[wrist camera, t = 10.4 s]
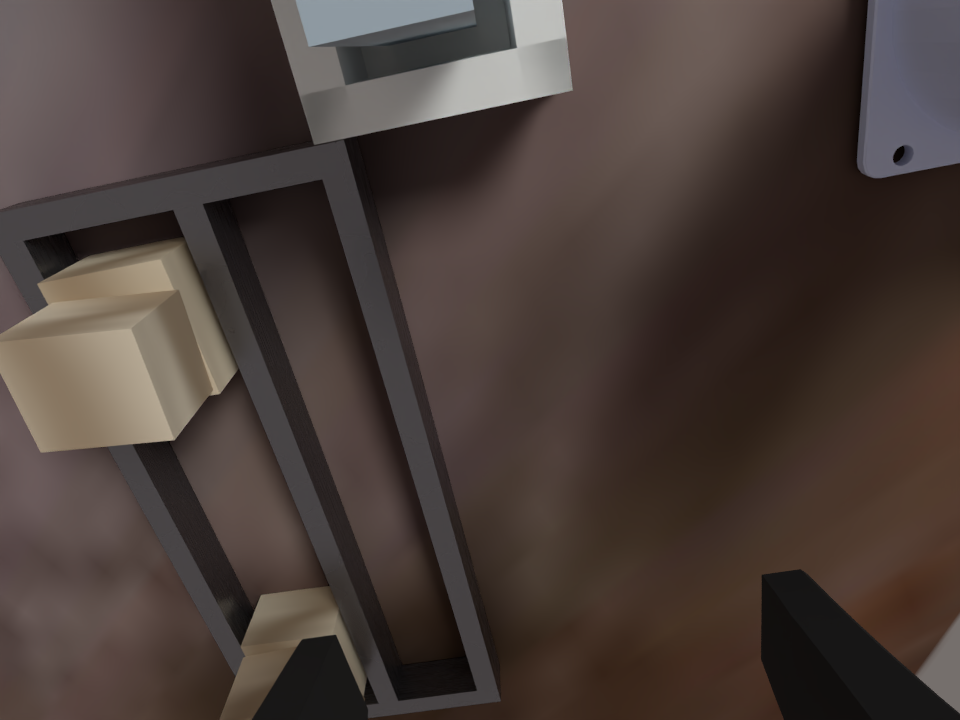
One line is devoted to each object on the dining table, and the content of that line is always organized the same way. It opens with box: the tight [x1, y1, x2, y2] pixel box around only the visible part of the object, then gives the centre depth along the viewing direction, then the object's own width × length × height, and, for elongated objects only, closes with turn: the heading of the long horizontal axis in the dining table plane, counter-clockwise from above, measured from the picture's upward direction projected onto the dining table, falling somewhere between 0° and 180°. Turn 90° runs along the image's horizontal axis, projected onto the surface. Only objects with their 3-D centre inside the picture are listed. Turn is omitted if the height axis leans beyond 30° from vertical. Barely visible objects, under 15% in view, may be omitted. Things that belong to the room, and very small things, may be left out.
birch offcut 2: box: [219, 647, 365, 720], centre depth 22 cm, size 3×3×2 cm
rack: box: [0, 136, 501, 718], centre depth 21 cm, size 10×22×2 cm, turn 11°
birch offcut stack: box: [0, 236, 239, 453], centre depth 17 cm, size 4×4×5 cm
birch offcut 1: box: [241, 586, 367, 696], centre depth 24 cm, size 3×4×2 cm
